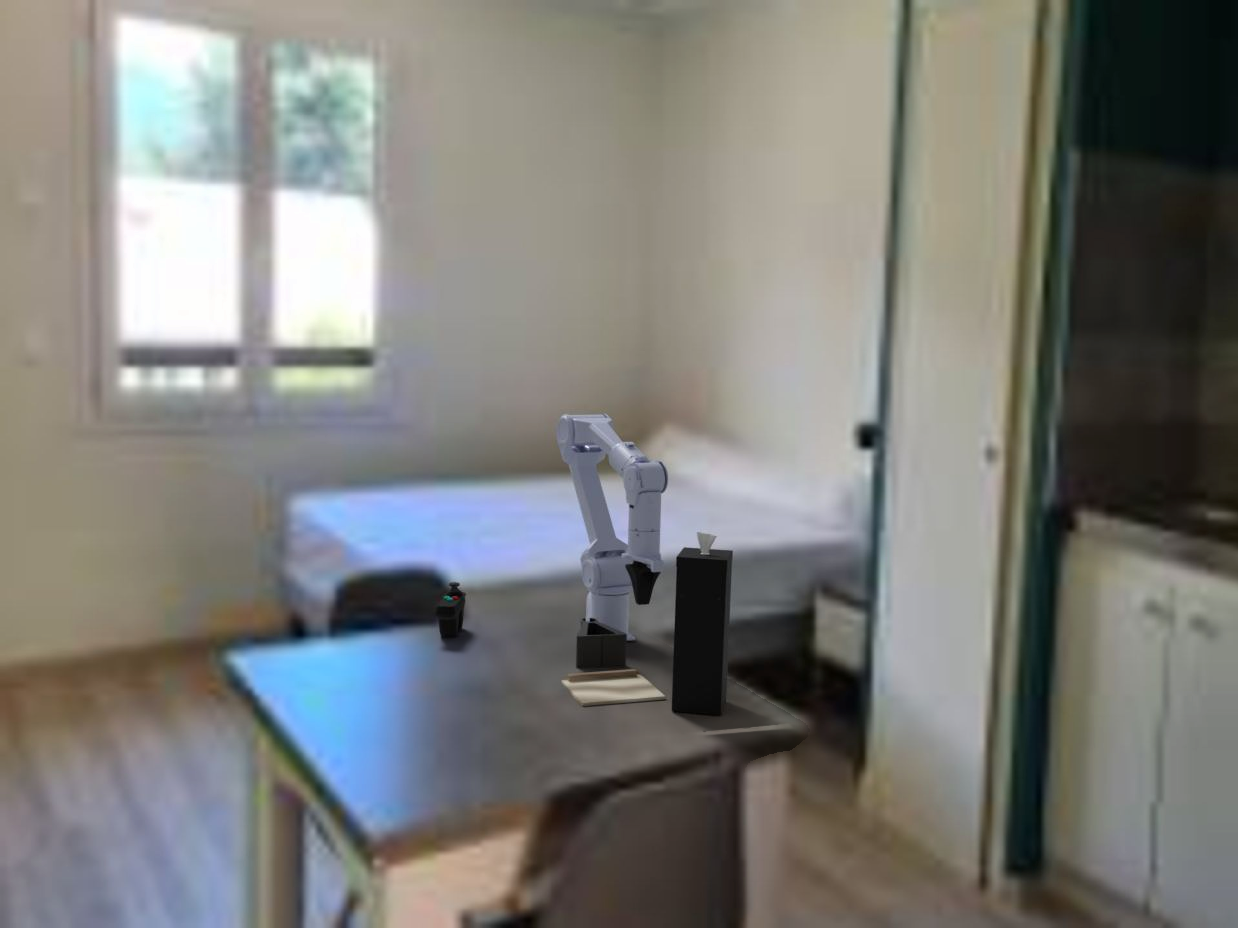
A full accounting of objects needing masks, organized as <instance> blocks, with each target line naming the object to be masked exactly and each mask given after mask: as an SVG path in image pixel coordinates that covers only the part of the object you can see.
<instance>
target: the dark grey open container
mask: <svg viewBox="0 0 1238 928" xmlns="http://www.w3.org/2000/svg"><path fill="white" fill-rule="evenodd" d="M575 643H576V649H575V652H576V653H575V654H576V655H575V668H576V669H585V668H586V669H588V668H592V669H593V668H616V667H621V666H622V667H626V666H627V646H628V645H627V643H628V641H627V634H626V633H624V632H621V631H619V630H617V629H614V628H612V627H610V626H607V625H605V624H602V623H600V622H598V621H597V619H595V618H590V622H587V621H586V617H584V618H583V617H582V618H581V619H580V628H579V630H578V632H577V635H576V642H575Z"/></svg>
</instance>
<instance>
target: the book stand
mask: <svg viewBox="0 0 1238 928" xmlns="http://www.w3.org/2000/svg"><path fill="white" fill-rule="evenodd" d="M561 684H562V685H563V686H564V687H565V688H566V689H567V691H568V692H569V693H570V694H571V695H572V696H573V697H574V699H575V700H576V701H577V702H578V703H579V704H580V705H581V707H586V706H587V707H588V706H598V705H599V706H601V705H610V704H611V705H612V704H624V703H636V702H637V703H638V702H646V701H647V702H648V701H650V702H651V701H660V700H661V701H662V700H666V696H665V694H664V693H662V692H661V691H660V690H659V689H658V688H656V687H655V686H654V684H652V683H651V682H650V681H649V680H647V678H645V676H643V675H642V674H640V673H639V674H638V670H637V669H636V668H633V669H632V668H630V669H629V668H628V669H617V670H604V671H603V670H602V671H592V672H589V671H588V672H578V673H577V672H574V673H567V677H566V679H561Z"/></svg>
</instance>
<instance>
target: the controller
mask: <svg viewBox="0 0 1238 928" xmlns="http://www.w3.org/2000/svg"><path fill="white" fill-rule="evenodd" d="M460 585H461V584H460V583H459V582H455V581H453V582H449V583H448V586H449V587H450V589H448V590H447V591H446V592H445V593H443V595H442V596H441V597H440V599H441V600H440V601H439V602H438V604H437V605H436V608H435V611H434V615H435V616H436V617H438V628H439V634H440V636H441V637H442V638H457V637H459V636H460V634H461V632H462V631H463V625H464V616H465V615H464V611H465V606H466V596H467V593H466V592H463V591H461V589H459V588H458V587H460Z"/></svg>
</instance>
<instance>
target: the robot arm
mask: <svg viewBox="0 0 1238 928" xmlns="http://www.w3.org/2000/svg"><path fill="white" fill-rule="evenodd" d="M555 434H556V435H555V436H556V440H557V444H558V449H559V451H560V455H561V458H562V461H563V462H564V463H566V464H568V467H569V471H570V475H571V478H572V483H573V487H574V490H575V494H576V497H577V501H578V504H579V509H580V511H581V515H582V519H583V523H584V526H585V530H586V534H587V538H588V542H589V545H588V546H587V548H585V549H584V550H583V552H582V554H581V556H580V565H581V579H582V583H583V584H584V587H586V589H587V590H588V591H589V592H588V594H587V596H586V603H585V604H586V605H585V607H586V608H585V610H586V611H585V613H586V614H585V618H586V621H587V622H590V618H595V619H597V621H598V622H600V623H602V624H605V625H607V626H610V627H612V628H614V629H617V630H619V631H621V632H624V633H626V634H627V642H628V641H629V642H630V641H635V640H636V637H635V636H633V635H632V634H631V632H629V606H630V604H629V603H630V592H631V593H632V592H633V597H634V601H635V604H637V606H643V605H644V606H645V605H649V604H650V601H651V599H652V594H653V590H654V587H655V585H656V582H657V580H658V578H659V577H660V574H661V573H663V572H664V568H665V567H664V566H665V565H664V563H665V561H664V560H663V559H662V555H661V552H660V551H661V550H660V549H661V547H660V546H661V518H662V515H661V514H662V494H664V492H665V491H666V490H667V488H668V485H669V473H668V470H667V467H666V465H665V464H664V463H663V461H661V460H650V459H649V458H648V457H647V456H646V455H645V454H644V453H643V452H642V451H641V450H640V449H639V448H638V447H636V444H635V443H634V442H633V441H622V439H621V438H620V437H619V436H618V434H617V433H616V432H615V430H614V423H613V419H612V418H611V417H610V416H609V415H608V414H607V413H600V414H568V413H567V414H566V413H565V414H562V415H561V417H559V419H558V421H557V426H556V433H555ZM606 455H608V463H609V465H610V467H611V468H613V470H615V472H616V473H617V474H618V475H619V476H620V477H621V478H622V482H623V487H624V490H625V491H624V492H625V501H626V503H627V504H628V528H627V530H628V533H627V534H628V536H627V543H626V542H624V541H622V540H621V539H619V538H617V536H616V533H615V529H614V525H613V522H612V518H611V515H610V511H609V507H608V504H607V501H606V497H605V494H604V489H603V486H602V483H601V479H600V476H599V472H598V468H597V464H599V463H600V462H602V461H603V460H605V457H606Z"/></svg>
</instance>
